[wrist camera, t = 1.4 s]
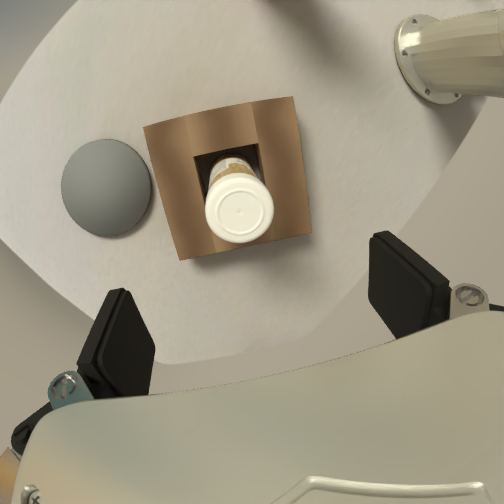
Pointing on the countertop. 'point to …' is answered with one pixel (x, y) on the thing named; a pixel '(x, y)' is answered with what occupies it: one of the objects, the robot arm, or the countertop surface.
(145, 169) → the slate coaster
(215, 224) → the sprinkles bottle
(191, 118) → the walnut pocket block
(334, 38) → the countertop surface
